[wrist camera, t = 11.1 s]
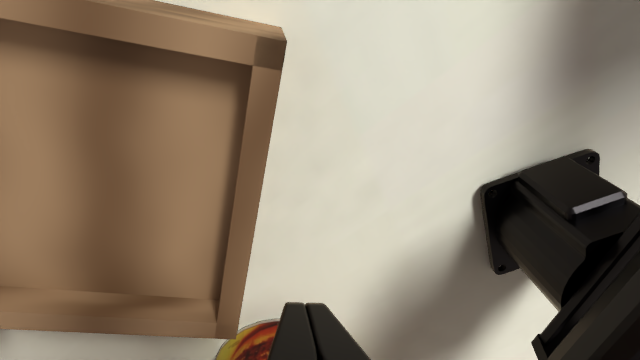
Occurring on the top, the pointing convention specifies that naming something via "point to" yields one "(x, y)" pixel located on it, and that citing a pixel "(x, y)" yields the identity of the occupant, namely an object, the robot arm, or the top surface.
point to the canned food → (250, 342)
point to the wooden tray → (131, 164)
